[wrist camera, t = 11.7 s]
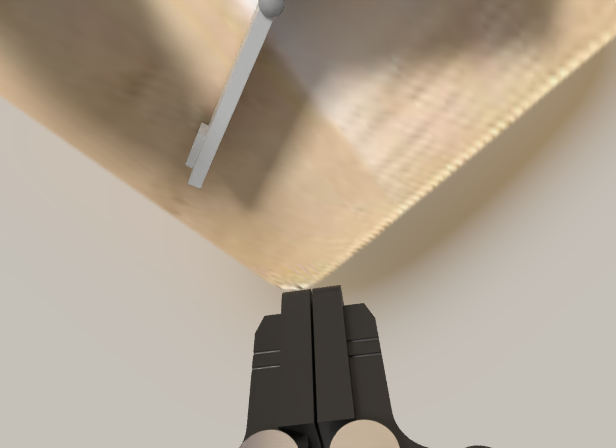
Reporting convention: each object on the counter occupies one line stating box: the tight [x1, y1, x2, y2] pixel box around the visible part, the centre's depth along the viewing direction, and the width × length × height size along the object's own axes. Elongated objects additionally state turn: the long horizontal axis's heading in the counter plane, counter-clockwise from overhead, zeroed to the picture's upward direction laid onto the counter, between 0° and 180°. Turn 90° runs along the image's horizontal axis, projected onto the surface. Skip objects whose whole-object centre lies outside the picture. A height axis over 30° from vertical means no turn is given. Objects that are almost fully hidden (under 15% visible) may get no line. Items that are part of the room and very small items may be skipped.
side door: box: [185, 0, 284, 188], centre depth 27 cm, size 12×2×5 cm, turn 153°
